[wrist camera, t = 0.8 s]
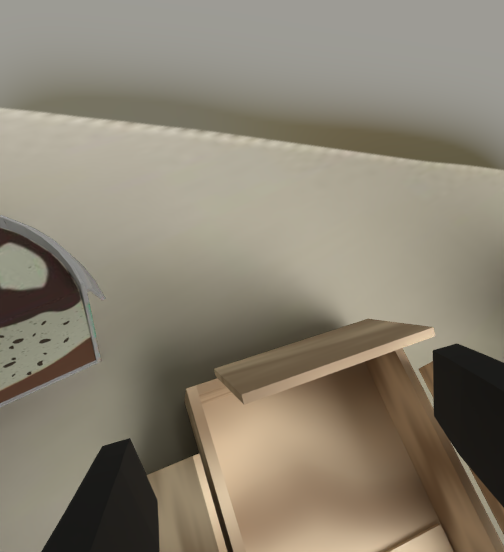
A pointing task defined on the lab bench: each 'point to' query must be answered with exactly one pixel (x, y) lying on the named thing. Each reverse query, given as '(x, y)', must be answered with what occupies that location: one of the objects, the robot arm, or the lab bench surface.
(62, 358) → the food container
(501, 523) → the flap
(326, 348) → the flap
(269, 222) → the lab bench surface
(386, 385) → the carton
